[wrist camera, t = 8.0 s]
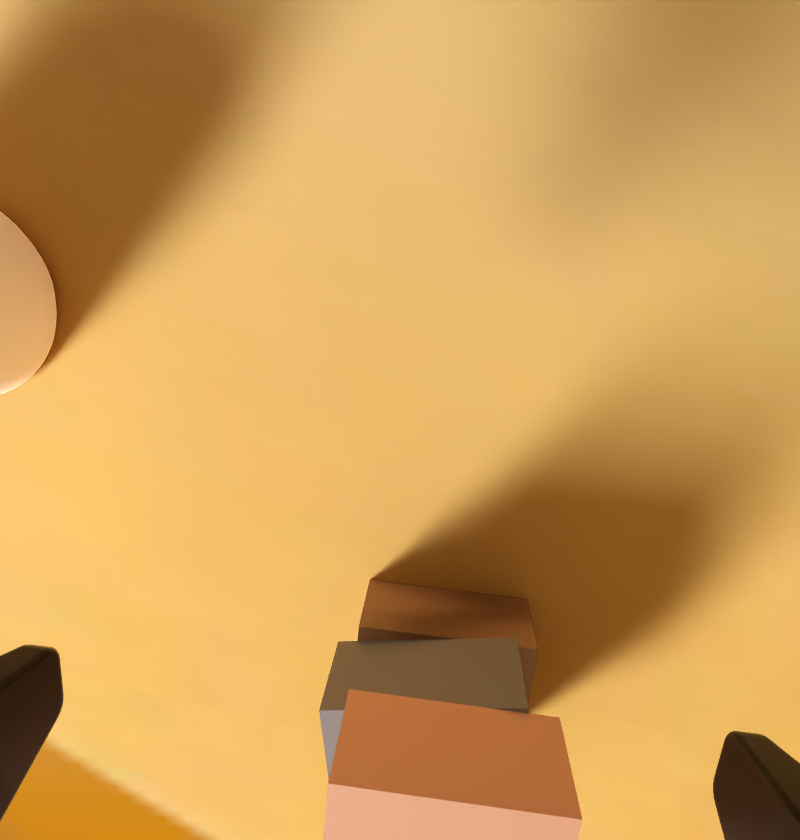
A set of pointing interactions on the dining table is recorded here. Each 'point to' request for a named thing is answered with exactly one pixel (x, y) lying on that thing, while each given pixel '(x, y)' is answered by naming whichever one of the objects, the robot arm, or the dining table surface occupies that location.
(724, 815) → the robot arm
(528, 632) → the walnut block
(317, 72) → the dining table surface
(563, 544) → the dining table surface
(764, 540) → the dining table surface
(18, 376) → the can
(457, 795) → the terracotta block
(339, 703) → the gray block
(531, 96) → the dining table surface
